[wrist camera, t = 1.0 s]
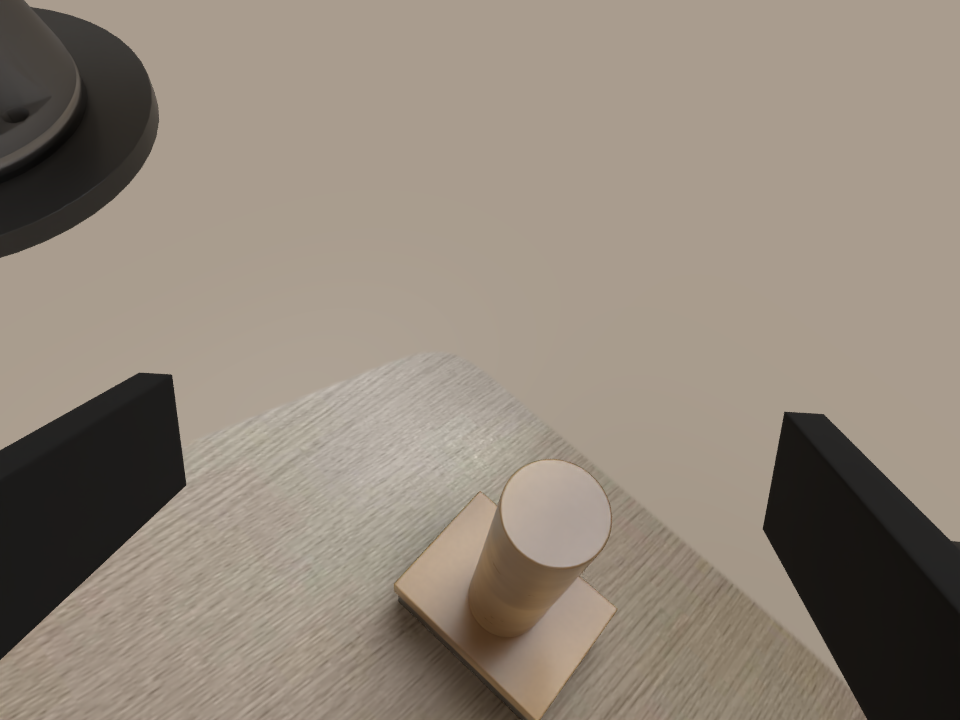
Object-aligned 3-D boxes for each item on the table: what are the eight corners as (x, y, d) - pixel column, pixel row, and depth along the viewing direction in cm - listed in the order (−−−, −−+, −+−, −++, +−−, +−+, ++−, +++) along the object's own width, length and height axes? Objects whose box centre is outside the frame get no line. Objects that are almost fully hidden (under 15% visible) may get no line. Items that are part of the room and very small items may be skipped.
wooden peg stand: (394, 600, 28) (387, 492, 17) (473, 513, 30) (512, 368, 20) (525, 727, 26) (612, 695, 15) (599, 623, 28) (721, 530, 17)
